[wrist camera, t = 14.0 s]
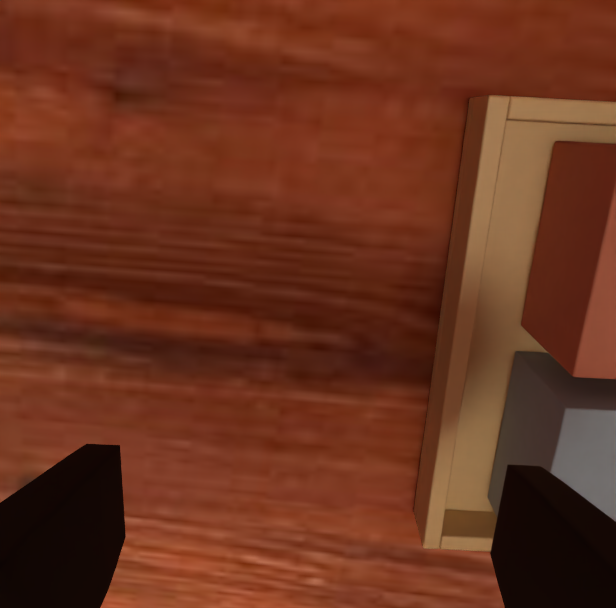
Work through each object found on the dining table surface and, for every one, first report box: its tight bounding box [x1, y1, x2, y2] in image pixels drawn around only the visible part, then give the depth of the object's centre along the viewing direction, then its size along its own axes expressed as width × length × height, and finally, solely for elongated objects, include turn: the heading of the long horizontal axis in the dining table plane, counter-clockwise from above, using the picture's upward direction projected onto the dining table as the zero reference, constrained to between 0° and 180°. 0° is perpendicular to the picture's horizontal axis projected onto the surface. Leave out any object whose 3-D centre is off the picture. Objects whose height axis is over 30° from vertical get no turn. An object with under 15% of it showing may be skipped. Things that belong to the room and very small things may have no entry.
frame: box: [414, 95, 616, 552], centre depth 18 cm, size 9×15×2 cm, turn 177°
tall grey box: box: [488, 351, 616, 522], centre depth 18 cm, size 4×6×4 cm, turn 177°
